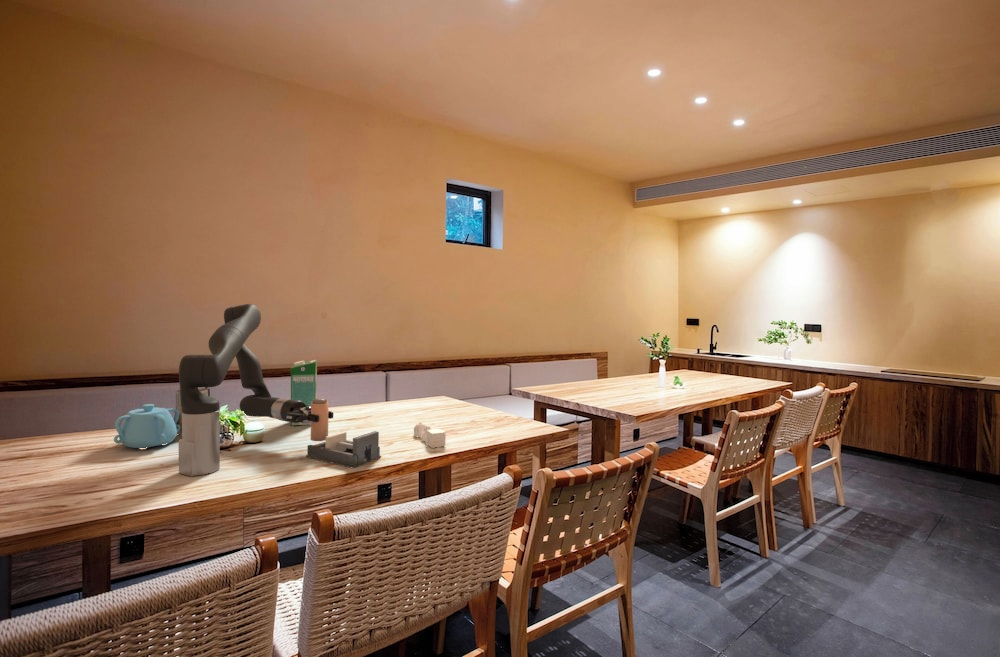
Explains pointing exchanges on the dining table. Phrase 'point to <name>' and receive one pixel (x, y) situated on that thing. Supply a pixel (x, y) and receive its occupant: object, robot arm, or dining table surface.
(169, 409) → the decorative pot
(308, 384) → the milk carton
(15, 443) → the dining table surface
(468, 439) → the dining table surface
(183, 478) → the dining table surface
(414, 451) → the dining table surface
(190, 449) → the robot arm
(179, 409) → the coffee box
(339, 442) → the pusher
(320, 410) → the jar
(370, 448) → the grey holder
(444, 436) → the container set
